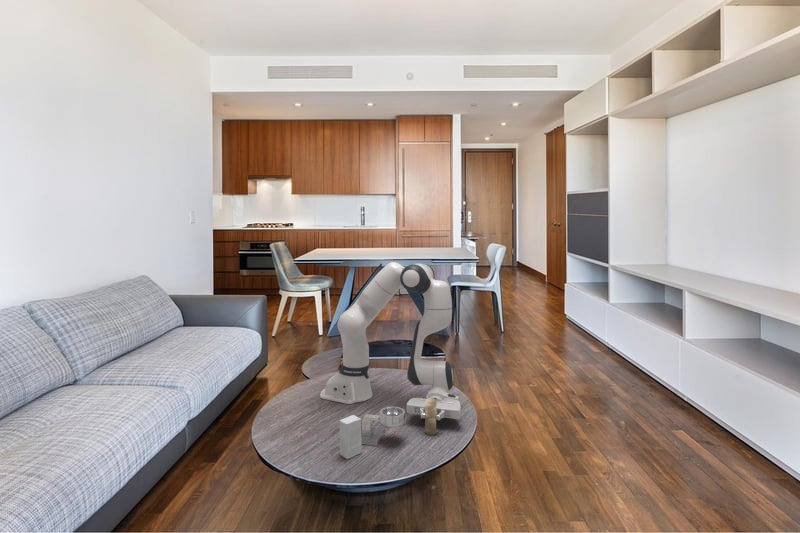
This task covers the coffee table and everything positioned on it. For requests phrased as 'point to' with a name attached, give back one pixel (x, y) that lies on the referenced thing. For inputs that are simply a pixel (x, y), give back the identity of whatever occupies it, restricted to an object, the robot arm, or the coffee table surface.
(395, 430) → the coffee table surface
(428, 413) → the rail post
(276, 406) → the coffee table surface
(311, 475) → the coffee table surface
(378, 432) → the cup bracket
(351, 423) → the skincare box
